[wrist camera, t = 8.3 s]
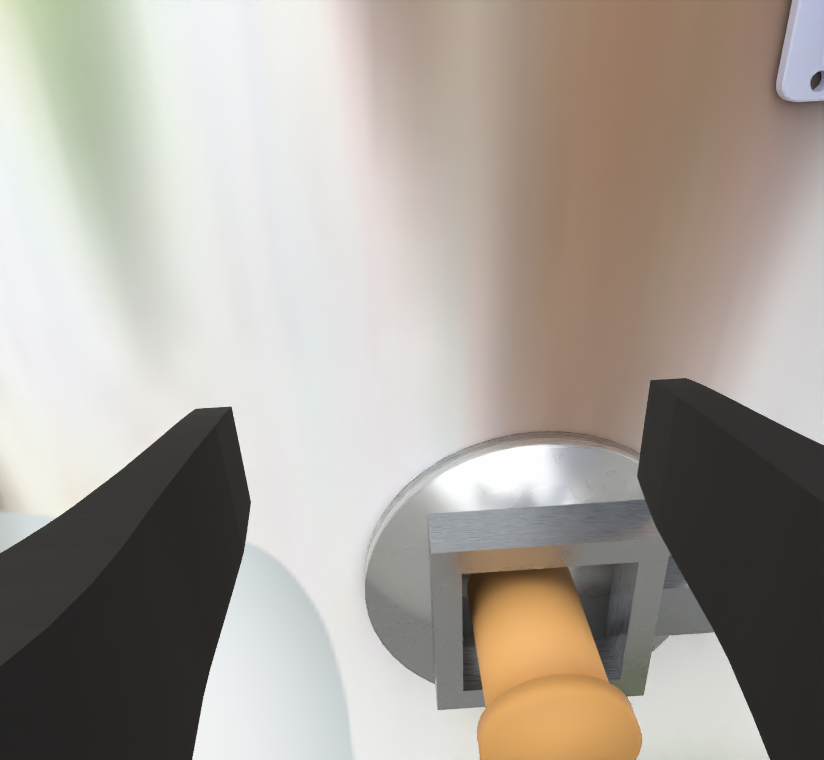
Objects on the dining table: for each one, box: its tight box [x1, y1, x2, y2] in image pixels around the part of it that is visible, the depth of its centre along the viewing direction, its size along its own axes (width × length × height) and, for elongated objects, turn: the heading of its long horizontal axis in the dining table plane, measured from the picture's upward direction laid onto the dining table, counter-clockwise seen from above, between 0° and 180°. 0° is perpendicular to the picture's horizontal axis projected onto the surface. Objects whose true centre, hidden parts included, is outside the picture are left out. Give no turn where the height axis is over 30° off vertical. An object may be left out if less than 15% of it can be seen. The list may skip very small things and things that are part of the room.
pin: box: [467, 567, 642, 760], centre depth 23 cm, size 5×5×7 cm
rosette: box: [365, 432, 714, 710], centre depth 25 cm, size 20×13×3 cm, turn 93°
